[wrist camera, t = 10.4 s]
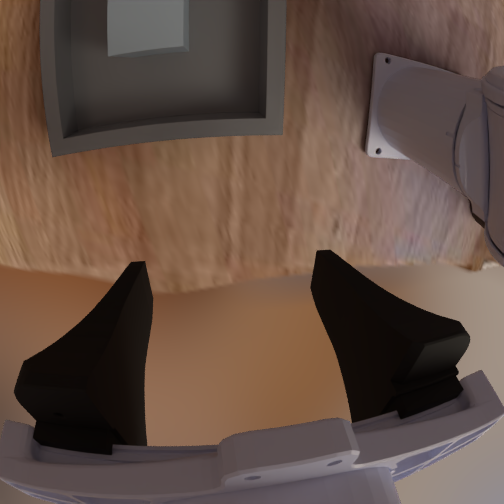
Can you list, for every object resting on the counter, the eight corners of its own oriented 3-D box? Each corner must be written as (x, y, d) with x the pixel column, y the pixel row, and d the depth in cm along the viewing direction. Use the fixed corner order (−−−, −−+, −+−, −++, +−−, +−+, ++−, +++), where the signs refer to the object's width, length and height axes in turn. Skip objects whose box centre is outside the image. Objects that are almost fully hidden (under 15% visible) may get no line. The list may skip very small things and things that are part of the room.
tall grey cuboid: (189, -13, 13) (184, -39, 9) (189, 51, 16) (183, 46, 11) (132, -6, 13) (108, -28, 9) (132, 57, 16) (108, 56, 11)
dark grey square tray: (275, -63, 12) (286, -78, 10) (272, 125, 20) (282, 135, 17) (63, -38, 10) (45, -49, 8) (69, 144, 18) (52, 157, 16)
